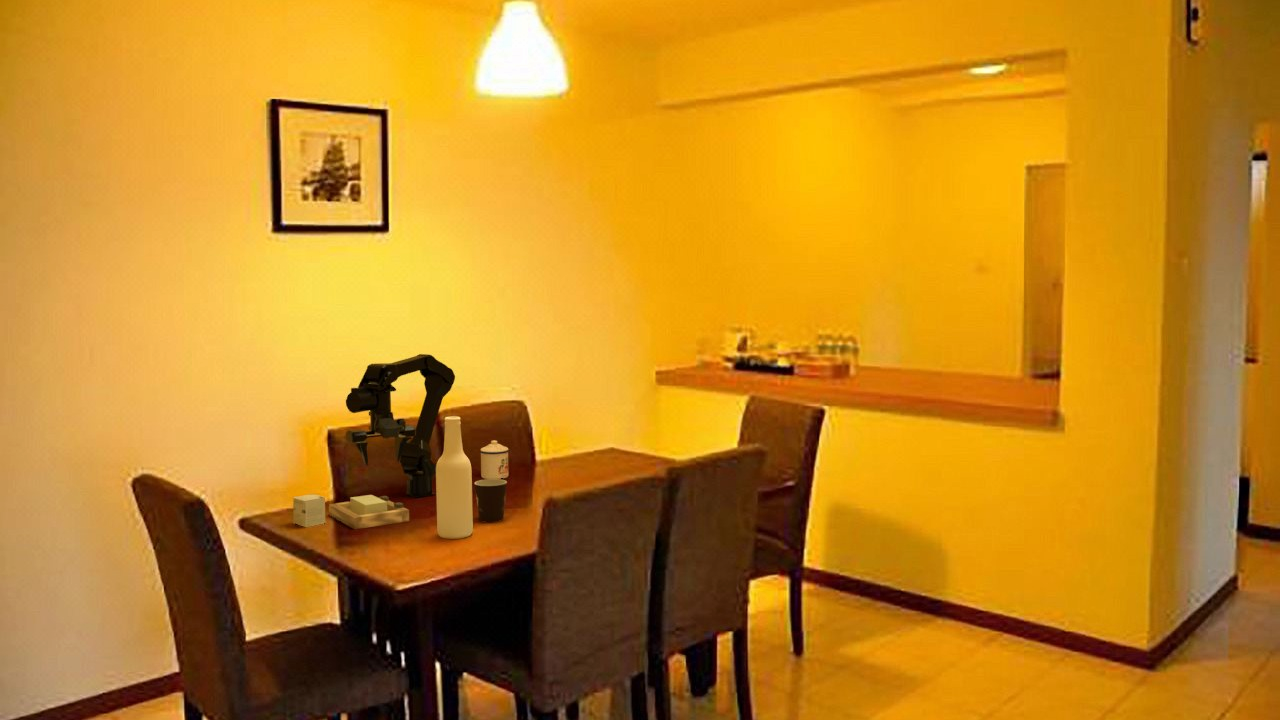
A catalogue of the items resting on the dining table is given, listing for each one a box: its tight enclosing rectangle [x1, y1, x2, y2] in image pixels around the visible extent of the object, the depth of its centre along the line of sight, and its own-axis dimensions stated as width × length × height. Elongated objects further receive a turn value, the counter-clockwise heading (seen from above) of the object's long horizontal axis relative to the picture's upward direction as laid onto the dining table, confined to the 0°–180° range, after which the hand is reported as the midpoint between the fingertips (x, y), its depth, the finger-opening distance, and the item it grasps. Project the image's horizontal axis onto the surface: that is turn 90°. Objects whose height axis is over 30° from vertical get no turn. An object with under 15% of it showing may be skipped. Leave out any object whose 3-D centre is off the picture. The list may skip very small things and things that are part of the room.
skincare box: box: [292, 493, 326, 528], centre depth 281 cm, size 6×6×7 cm
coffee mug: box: [473, 479, 508, 523], centre depth 286 cm, size 12×9×10 cm
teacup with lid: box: [479, 439, 510, 480], centre depth 342 cm, size 12×9×12 cm
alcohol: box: [435, 415, 474, 540], centre depth 268 cm, size 9×9×30 cm
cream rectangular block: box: [349, 494, 387, 515], centre depth 287 cm, size 6×11×4 cm, turn 35°
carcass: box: [328, 495, 410, 530], centre depth 287 cm, size 15×19×4 cm
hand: (382, 463), depth 301 cm, fingers open, 9 cm apart
